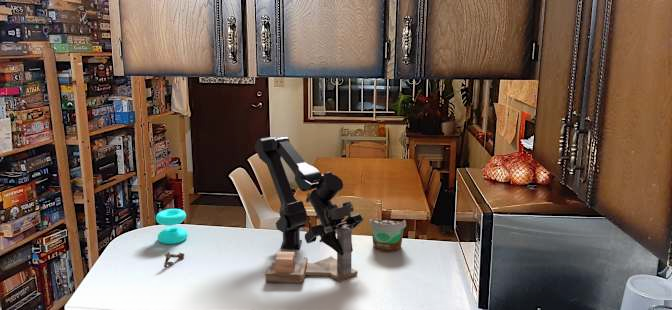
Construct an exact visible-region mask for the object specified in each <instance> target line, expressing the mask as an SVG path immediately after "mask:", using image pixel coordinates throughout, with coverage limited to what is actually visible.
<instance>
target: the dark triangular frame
mask: <svg viewBox="0 0 672 310" xmlns="http://www.w3.org/2000/svg"><path fill="white" fill-rule="evenodd" d="M164 257H165V261H164V265H163V268H167V267H168V266H173V264H174V262H172V261H169V260H170V259H172V258H173V259H175V258H178V259H180V260H184V258H185V253H182V252H178V254H174V253H170V252H166V253H165V254H164Z"/></svg>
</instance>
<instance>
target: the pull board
mask: <svg viewBox="0 0 672 310" xmlns="http://www.w3.org/2000/svg"><path fill="white" fill-rule="evenodd" d="M352 230H353V229H350V228H348V227H346V226H343V227H340V228H337V230H336V238H337V240H338V242H339V244H340V246H341V248H342V250H343V252H344V255H342V256H341V255H340V254H339V253H337V252H336V258H335V257H334V256H330V257H327V258H324V259H321V260H318V261H316V262H308V257H303V261H302V262H301V263H297V262H295V269H294V273H276V262H271V264H270V267H269V269H268V272H265V273H264V278H265V282H267V283H301V282H304V280H305V277H306V276H325V277H327V276H328V277H332V278H333V279H334V280H336V281H338V282H341V281H344V280H346V279H349V278H352V277H353V276H356V275H358V272H359V271H358V270H357V269H355V268H353V267H352V252H351V245H352V246H353V242H352V236H353V235H352Z"/></svg>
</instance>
